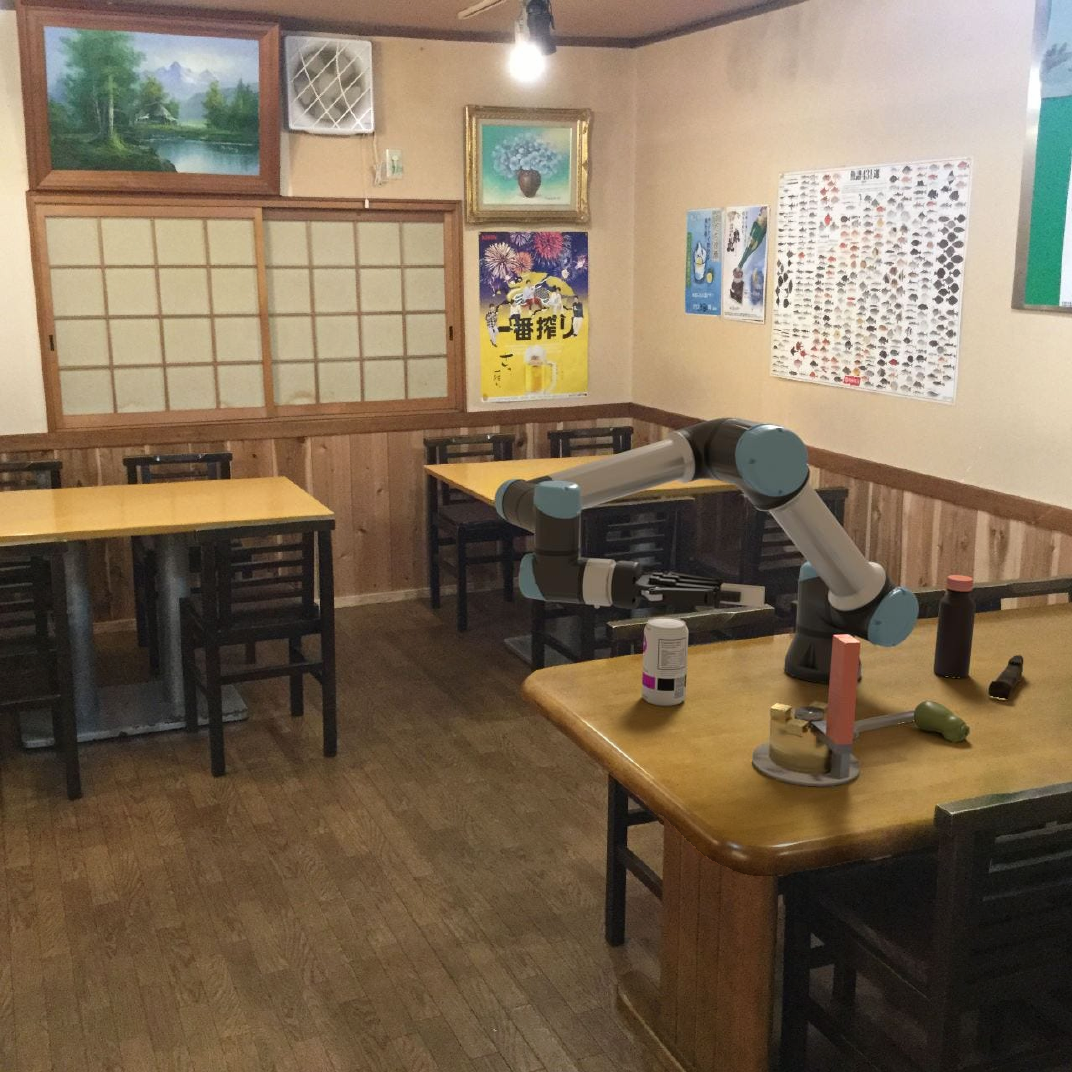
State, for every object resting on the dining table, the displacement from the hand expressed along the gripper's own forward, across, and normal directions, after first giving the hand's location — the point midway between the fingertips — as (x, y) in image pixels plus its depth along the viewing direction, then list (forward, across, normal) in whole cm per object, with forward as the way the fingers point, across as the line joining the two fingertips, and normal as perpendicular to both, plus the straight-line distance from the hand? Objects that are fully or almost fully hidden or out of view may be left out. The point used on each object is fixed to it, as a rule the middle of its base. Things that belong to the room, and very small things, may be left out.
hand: (763, 596), depth 180 cm
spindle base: (+7, -7, -30) cm, 31 cm away
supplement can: (-21, -29, -30) cm, 46 cm away
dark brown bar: (+41, -61, -31) cm, 79 cm away
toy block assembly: (+9, -4, -28) cm, 30 cm away
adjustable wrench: (+18, -28, -31) cm, 45 cm away
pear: (+28, -29, -30) cm, 51 cm away
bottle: (+30, -65, -31) cm, 78 cm away
